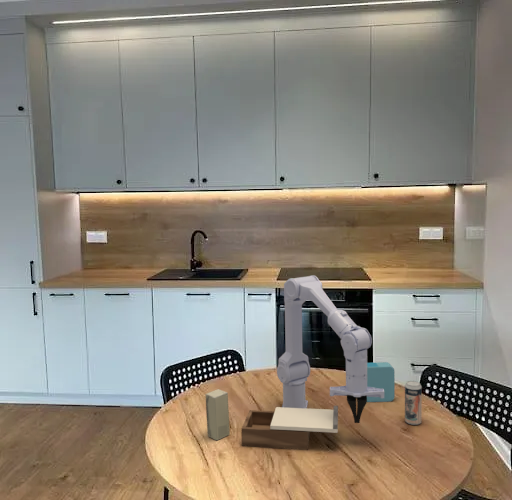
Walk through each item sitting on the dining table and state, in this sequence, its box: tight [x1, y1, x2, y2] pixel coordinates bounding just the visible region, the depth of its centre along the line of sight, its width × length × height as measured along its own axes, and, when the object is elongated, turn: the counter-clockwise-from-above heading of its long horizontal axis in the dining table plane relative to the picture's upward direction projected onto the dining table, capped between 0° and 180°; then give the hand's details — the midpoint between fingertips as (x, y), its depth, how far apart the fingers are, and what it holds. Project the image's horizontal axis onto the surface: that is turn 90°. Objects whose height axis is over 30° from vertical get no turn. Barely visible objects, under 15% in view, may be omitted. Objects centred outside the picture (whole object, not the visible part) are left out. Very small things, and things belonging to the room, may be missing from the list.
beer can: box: [404, 380, 423, 426], centre depth 143 cm, size 5×5×12 cm
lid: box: [270, 405, 339, 434], centre depth 135 cm, size 12×18×2 cm, turn 80°
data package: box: [367, 361, 396, 403], centre depth 161 cm, size 12×4×12 cm, turn 90°
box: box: [205, 388, 231, 441], centre depth 138 cm, size 5×4×13 cm
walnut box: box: [241, 409, 311, 451], centre depth 136 cm, size 12×18×5 cm, turn 80°
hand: (356, 421), depth 132 cm, fingers closed
